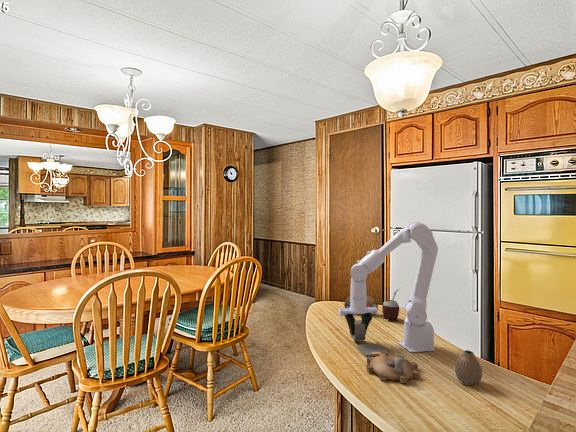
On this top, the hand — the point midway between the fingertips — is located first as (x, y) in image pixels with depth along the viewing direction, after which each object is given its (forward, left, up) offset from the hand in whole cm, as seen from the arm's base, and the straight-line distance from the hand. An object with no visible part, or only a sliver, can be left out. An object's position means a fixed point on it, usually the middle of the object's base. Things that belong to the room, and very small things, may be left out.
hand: (357, 333), depth 123 cm
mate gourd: (-24, -20, -3) cm, 31 cm away
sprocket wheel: (-2, +22, -3) cm, 22 cm away
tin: (-14, -30, -3) cm, 33 cm away
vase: (-20, +32, -3) cm, 38 cm away
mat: (-2, +8, -3) cm, 9 cm away
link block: (0, 0, -2) cm, 2 cm away
